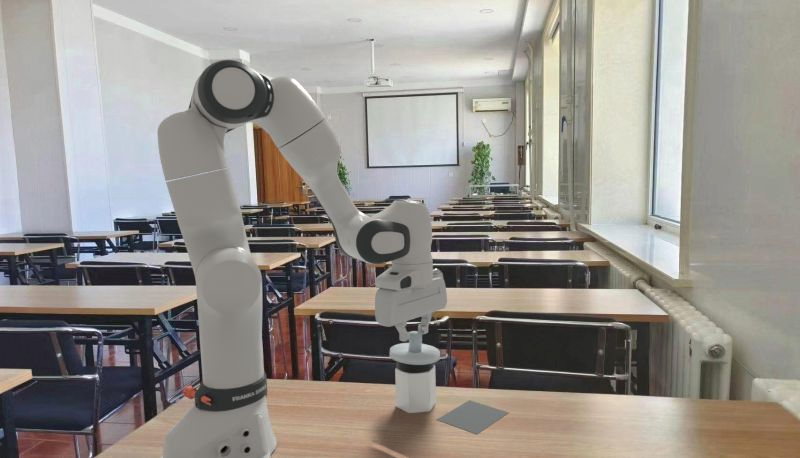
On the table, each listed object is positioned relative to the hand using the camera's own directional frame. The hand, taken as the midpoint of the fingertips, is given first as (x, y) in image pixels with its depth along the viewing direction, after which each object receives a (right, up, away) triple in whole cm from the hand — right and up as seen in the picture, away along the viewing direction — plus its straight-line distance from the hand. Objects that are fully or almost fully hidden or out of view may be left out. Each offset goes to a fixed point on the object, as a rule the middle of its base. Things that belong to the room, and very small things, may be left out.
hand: (414, 336), depth 115 cm
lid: (0, -4, 0) cm, 4 cm away
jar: (+1, -16, +2) cm, 16 cm away
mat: (+12, -16, -5) cm, 21 cm away
